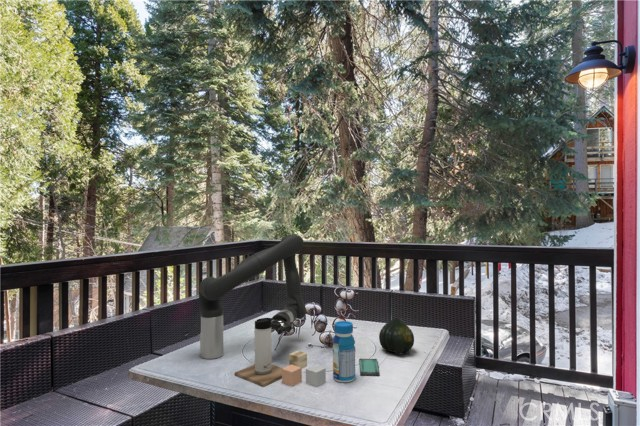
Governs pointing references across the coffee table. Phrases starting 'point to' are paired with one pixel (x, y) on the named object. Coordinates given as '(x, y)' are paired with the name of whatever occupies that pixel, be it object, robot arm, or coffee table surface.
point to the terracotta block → (291, 375)
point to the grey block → (315, 375)
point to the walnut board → (260, 379)
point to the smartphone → (369, 367)
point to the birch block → (298, 359)
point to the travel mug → (263, 346)
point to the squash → (396, 337)
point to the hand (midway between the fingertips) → (268, 331)
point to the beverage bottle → (343, 352)
